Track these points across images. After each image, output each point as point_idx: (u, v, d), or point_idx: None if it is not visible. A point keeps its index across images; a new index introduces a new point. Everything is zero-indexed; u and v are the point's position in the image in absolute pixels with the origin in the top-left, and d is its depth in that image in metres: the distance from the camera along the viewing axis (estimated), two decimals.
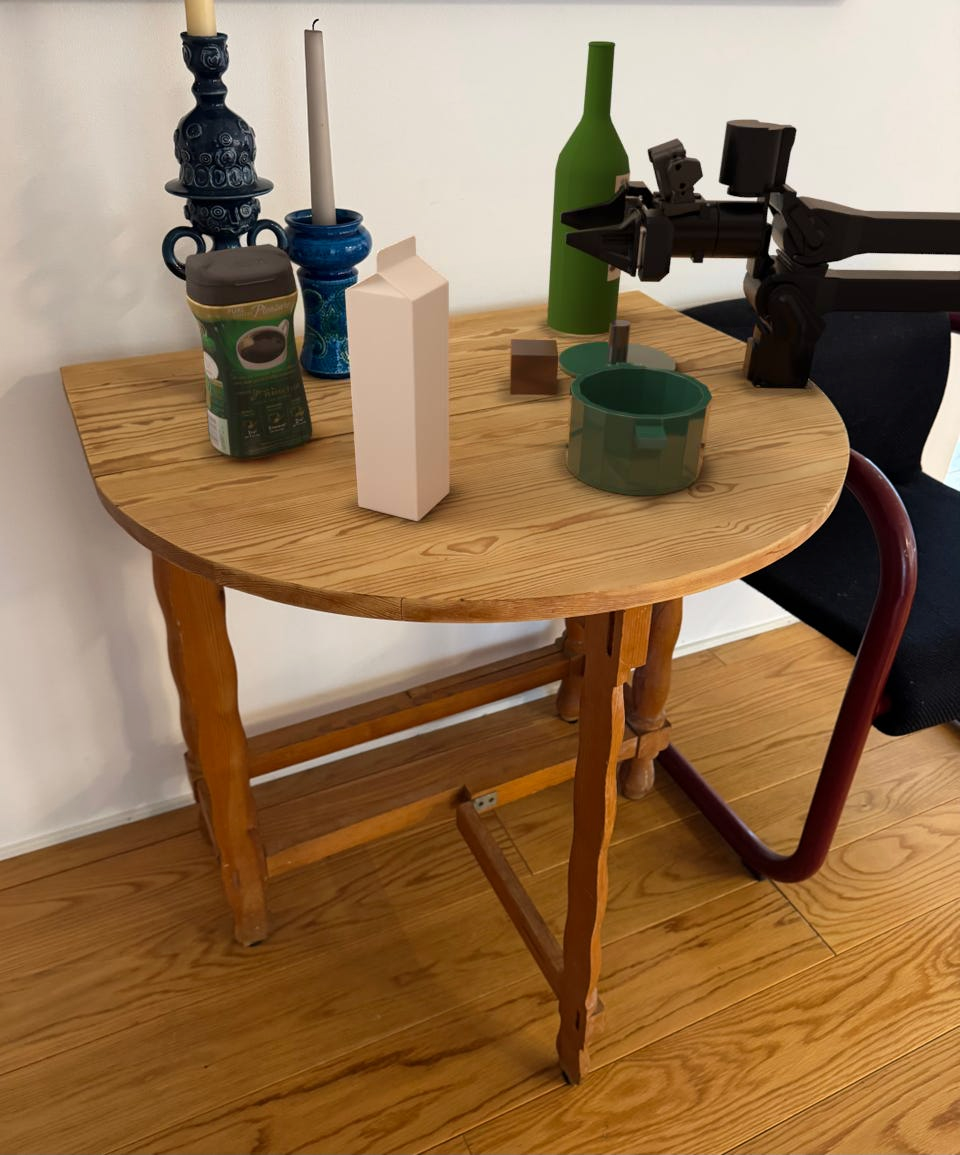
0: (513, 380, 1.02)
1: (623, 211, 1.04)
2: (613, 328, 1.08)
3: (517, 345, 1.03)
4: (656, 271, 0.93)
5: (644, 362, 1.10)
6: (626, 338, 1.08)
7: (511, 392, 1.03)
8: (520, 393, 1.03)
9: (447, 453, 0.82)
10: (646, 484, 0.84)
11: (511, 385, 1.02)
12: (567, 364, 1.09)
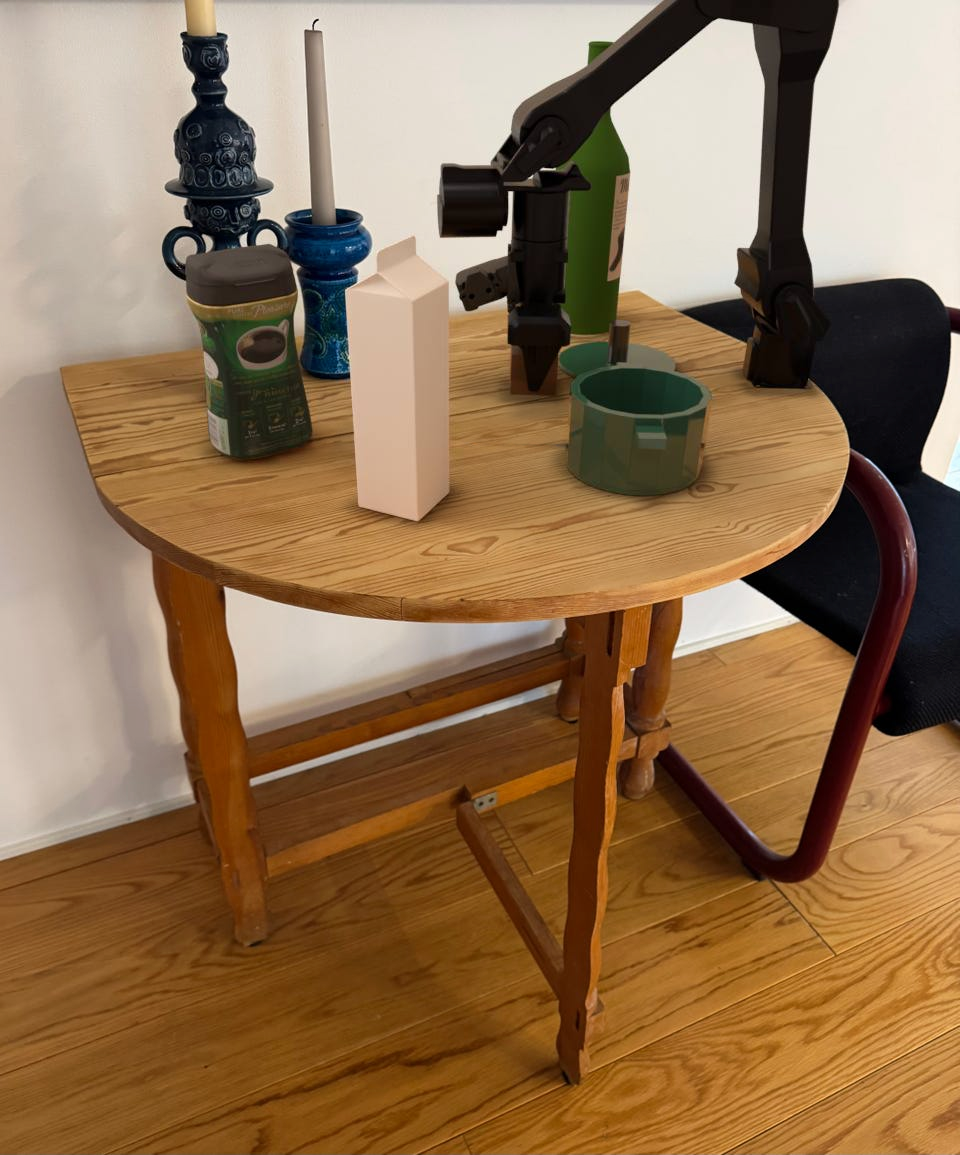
0: (513, 380, 1.02)
1: None
2: (613, 328, 1.08)
3: None
4: (559, 333, 0.92)
5: (644, 362, 1.10)
6: (626, 338, 1.08)
7: (511, 392, 1.03)
8: (520, 393, 1.03)
9: (447, 453, 0.82)
10: (646, 484, 0.84)
11: (511, 385, 1.02)
12: (567, 364, 1.09)
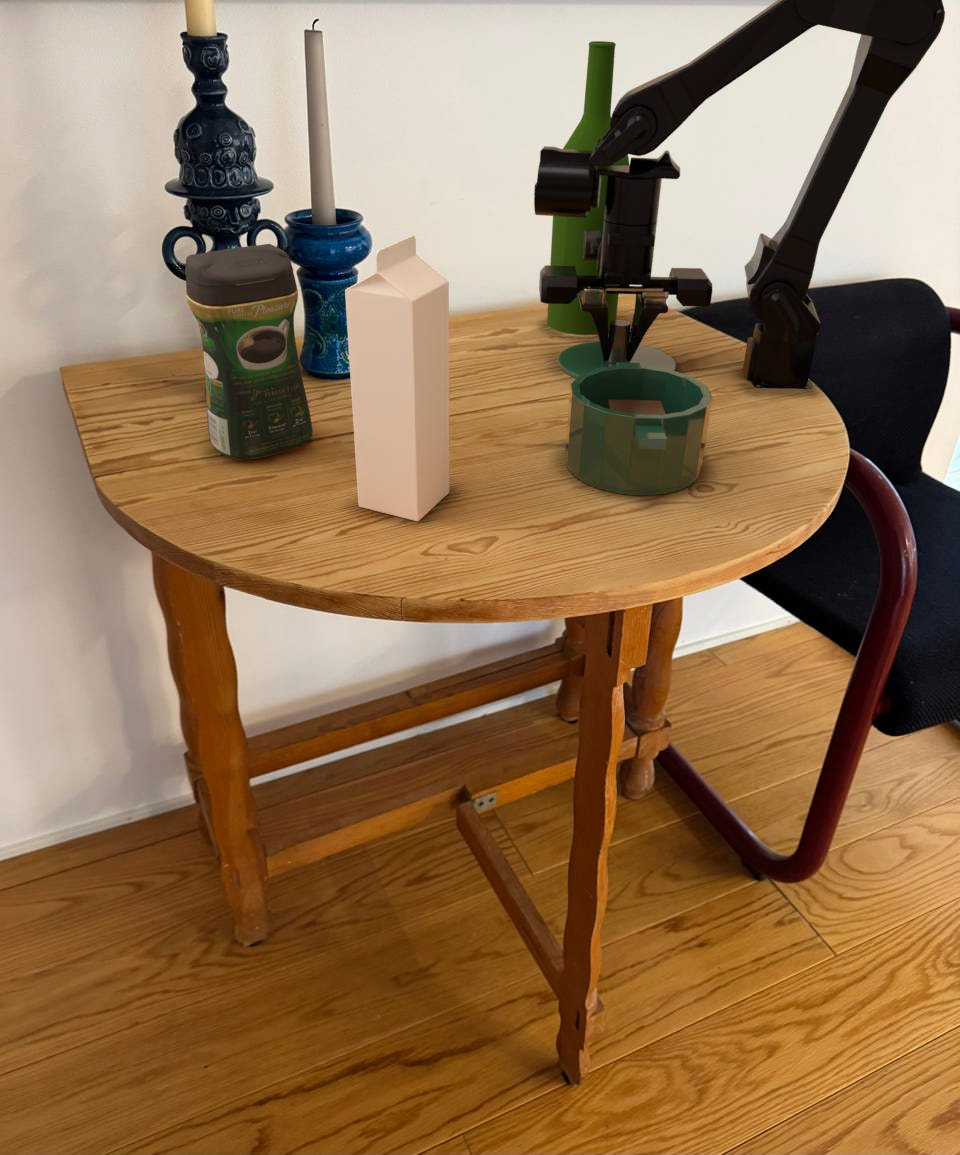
0: None
1: (639, 300, 1.07)
2: (613, 328, 1.08)
3: (617, 407, 0.88)
4: None
5: (644, 362, 1.10)
6: (626, 338, 1.08)
7: None
8: None
9: (447, 453, 0.82)
10: (646, 484, 0.84)
11: None
12: (567, 364, 1.09)
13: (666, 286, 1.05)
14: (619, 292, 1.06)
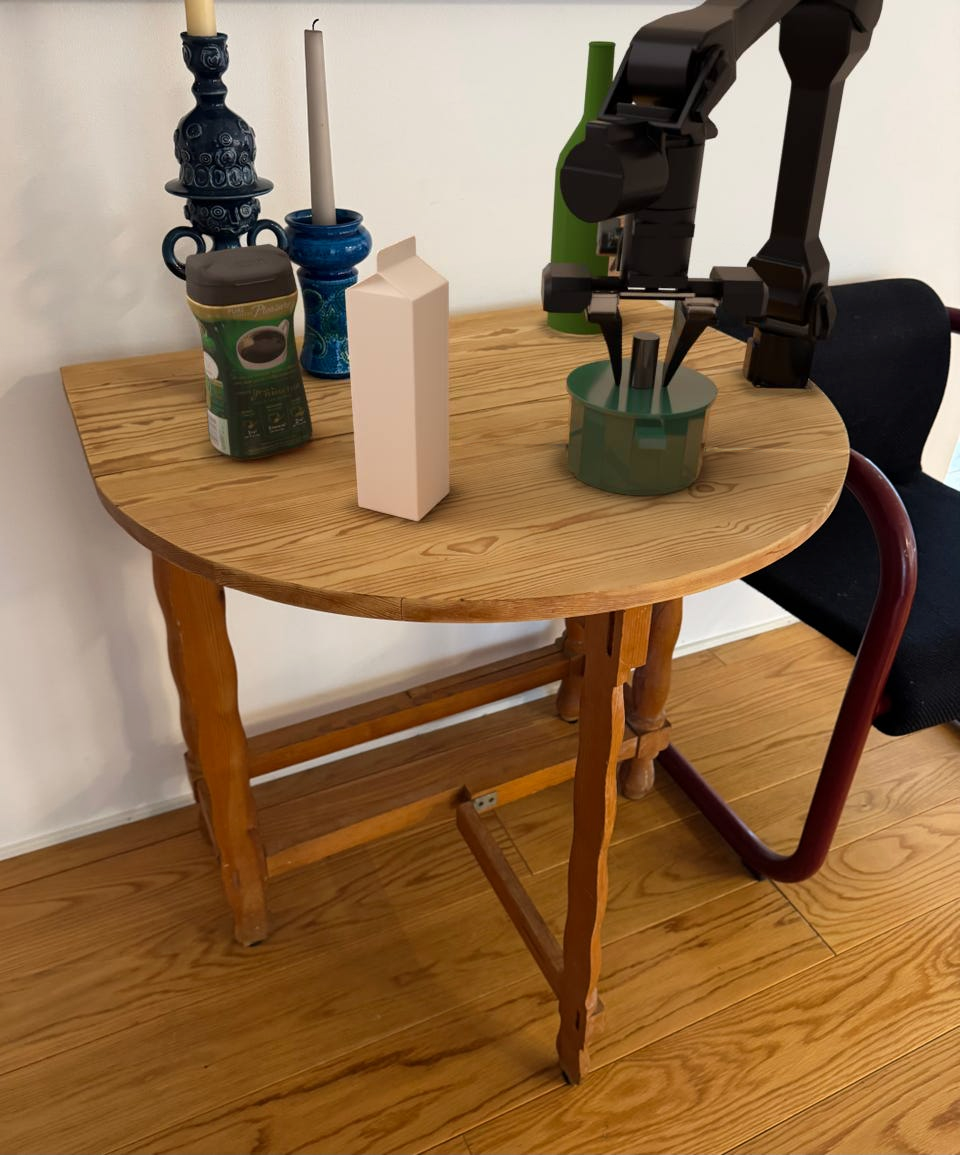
0: None
1: (679, 308, 0.83)
2: (638, 343, 0.83)
3: None
4: (543, 292, 0.80)
5: (677, 386, 0.86)
6: (654, 356, 0.83)
7: None
8: None
9: (447, 453, 0.82)
10: (646, 484, 0.84)
11: None
12: (577, 389, 0.85)
13: (707, 290, 0.81)
14: (645, 298, 0.81)
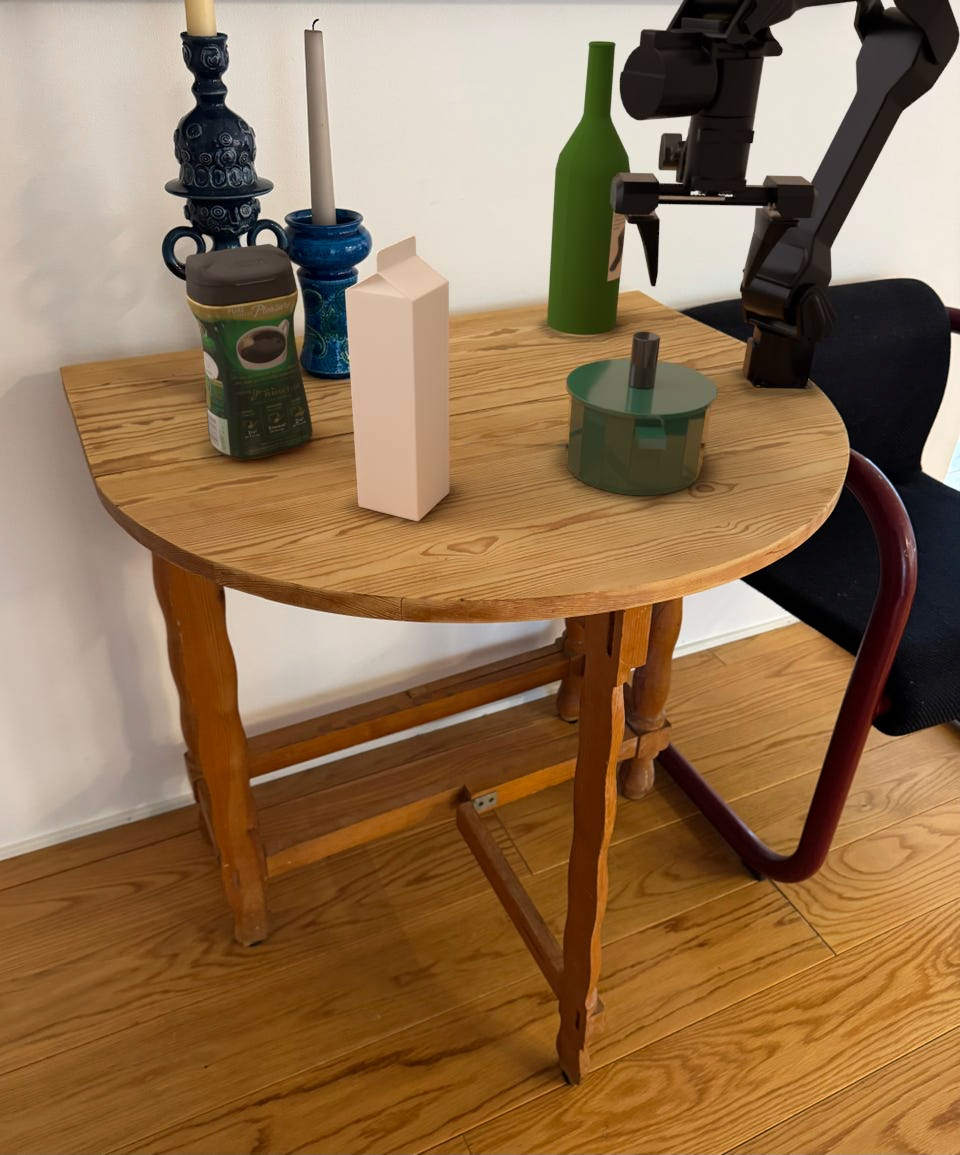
0: None
1: (761, 214, 0.91)
2: (638, 343, 0.83)
3: None
4: (615, 196, 0.88)
5: (677, 386, 0.86)
6: (654, 356, 0.83)
7: None
8: None
9: (447, 453, 0.82)
10: (646, 484, 0.84)
11: None
12: (577, 389, 0.85)
13: (761, 196, 0.90)
14: (706, 203, 0.90)
